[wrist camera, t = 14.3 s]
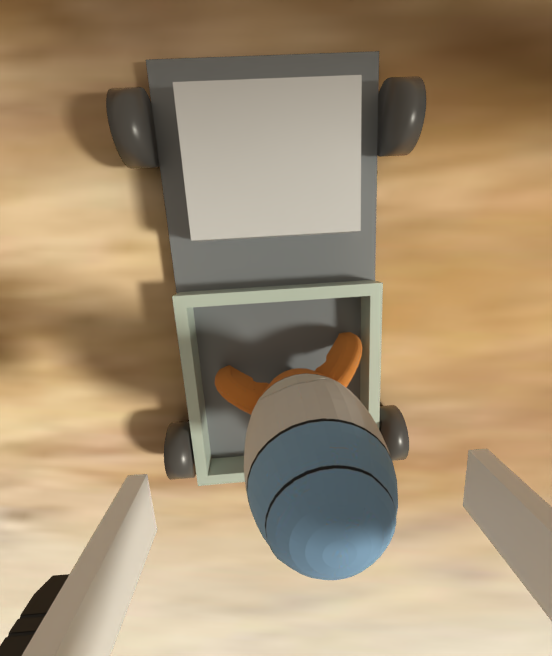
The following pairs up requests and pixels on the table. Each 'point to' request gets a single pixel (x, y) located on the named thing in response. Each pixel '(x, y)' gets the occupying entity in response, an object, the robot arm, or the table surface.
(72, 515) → the table surface
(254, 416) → the toy rocket
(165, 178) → the toy truck
